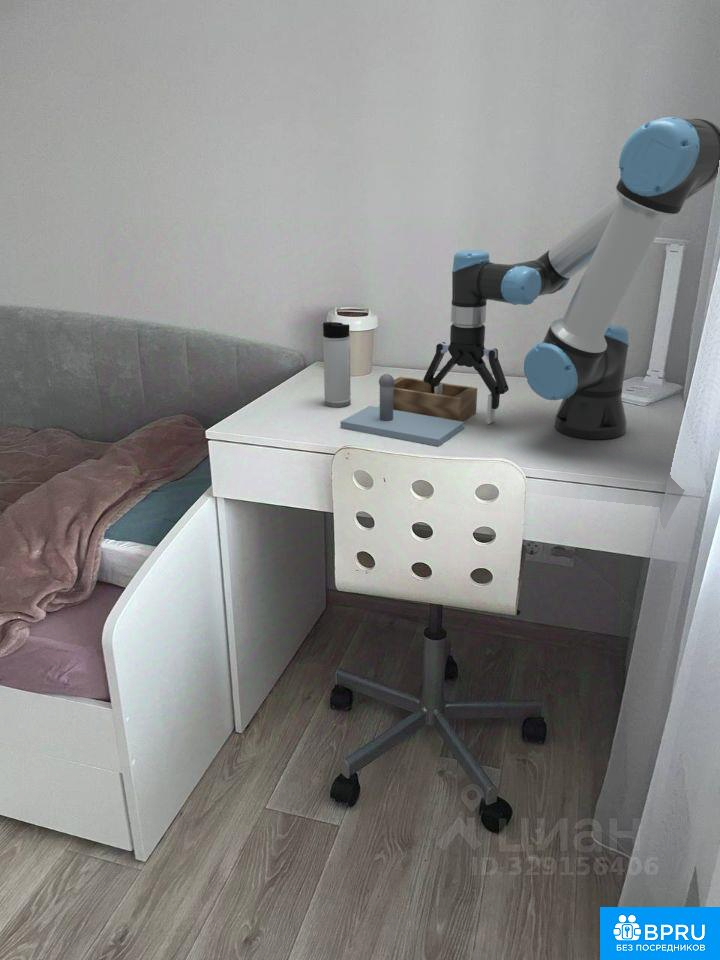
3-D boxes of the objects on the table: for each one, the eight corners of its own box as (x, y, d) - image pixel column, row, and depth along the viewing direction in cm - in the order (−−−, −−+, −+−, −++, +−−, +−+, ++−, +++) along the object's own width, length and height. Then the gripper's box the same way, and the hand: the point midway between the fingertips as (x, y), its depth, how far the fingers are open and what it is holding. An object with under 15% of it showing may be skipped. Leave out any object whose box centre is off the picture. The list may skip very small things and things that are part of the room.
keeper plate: (464, 428, 175) (466, 376, 171) (438, 446, 165) (440, 392, 160) (369, 411, 186) (369, 363, 182) (340, 427, 176) (339, 376, 172)
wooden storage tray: (476, 412, 185) (477, 387, 183) (458, 425, 177) (459, 399, 175) (400, 400, 195) (400, 376, 192) (380, 411, 187) (380, 386, 184)
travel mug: (318, 404, 192) (316, 321, 184) (338, 398, 197) (336, 317, 189) (336, 409, 188) (334, 325, 180) (356, 403, 192) (355, 321, 185)
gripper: (527, 326, 170) (520, 421, 179) (425, 315, 182) (422, 404, 190) (515, 333, 164) (508, 430, 173) (410, 321, 176) (408, 413, 184)
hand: (463, 417), depth 182 cm, fingers open, 12 cm apart
